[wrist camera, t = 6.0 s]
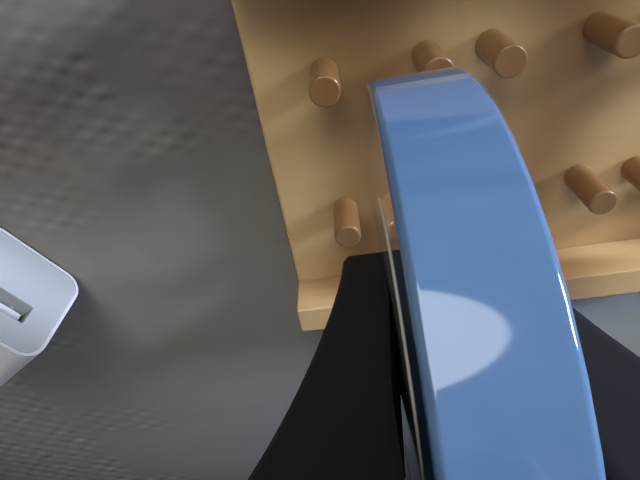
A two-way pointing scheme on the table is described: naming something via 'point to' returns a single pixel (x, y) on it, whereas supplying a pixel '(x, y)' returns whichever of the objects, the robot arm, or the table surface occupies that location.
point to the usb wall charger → (29, 303)
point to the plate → (474, 290)
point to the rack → (500, 82)
